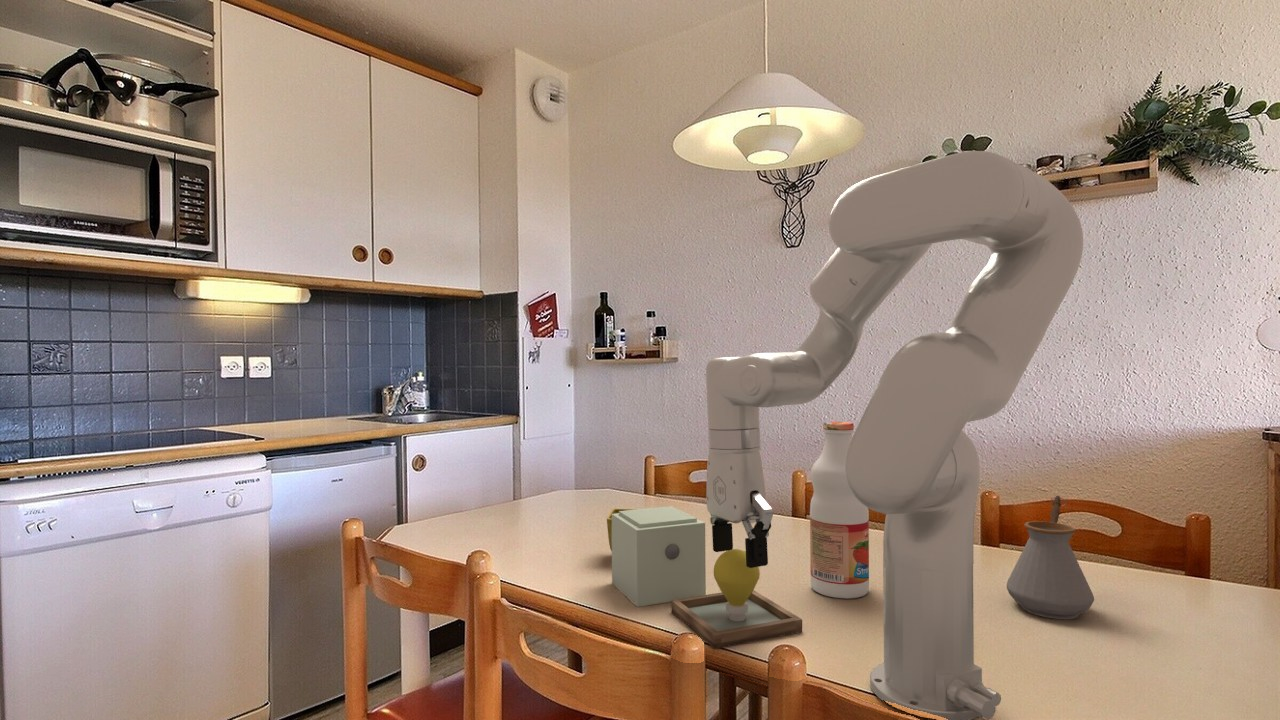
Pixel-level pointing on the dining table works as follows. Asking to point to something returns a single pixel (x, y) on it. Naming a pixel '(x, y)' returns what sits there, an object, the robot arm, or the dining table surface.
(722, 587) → the light bulb
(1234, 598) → the dining table surface
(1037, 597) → the coffee pot
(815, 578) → the fruit juice
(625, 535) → the housing unit
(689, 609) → the tray
